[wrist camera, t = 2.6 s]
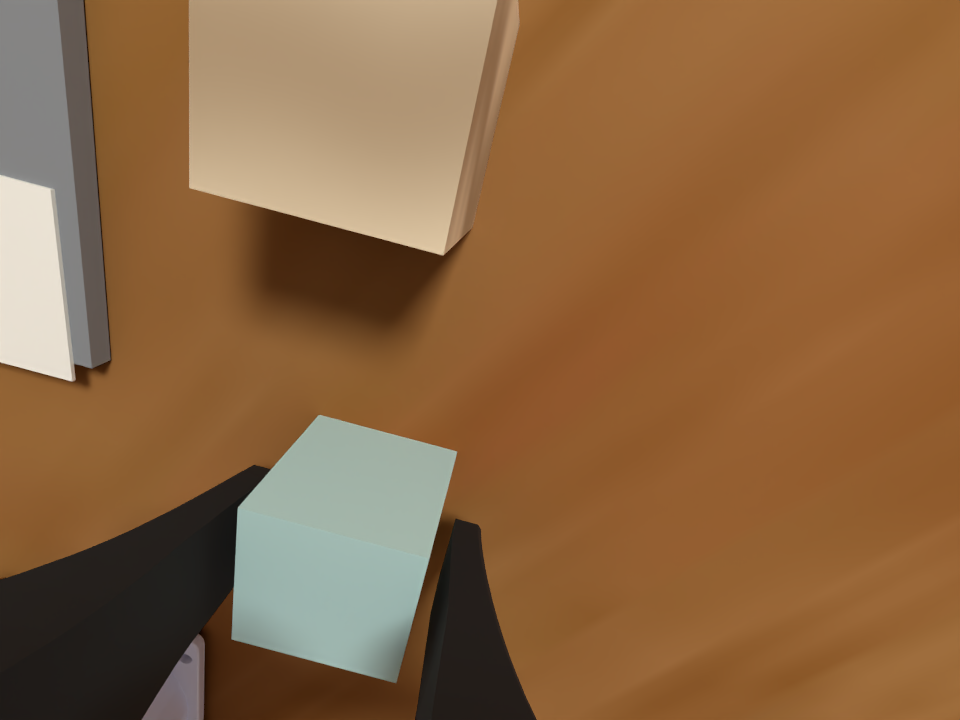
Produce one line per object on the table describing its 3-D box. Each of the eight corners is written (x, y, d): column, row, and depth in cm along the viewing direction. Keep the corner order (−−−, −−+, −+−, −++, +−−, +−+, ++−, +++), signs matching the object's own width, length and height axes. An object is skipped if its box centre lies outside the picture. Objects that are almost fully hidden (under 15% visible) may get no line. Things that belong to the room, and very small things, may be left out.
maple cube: (472, 227, 11) (443, 255, 7) (306, 182, 11) (189, 187, 7) (519, 25, 9) (512, -74, 6) (324, -27, 9) (188, -160, 6)
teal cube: (429, 554, 15) (396, 683, 11) (306, 521, 15) (231, 639, 11) (457, 450, 13) (429, 558, 9) (320, 413, 13) (237, 507, 9)
